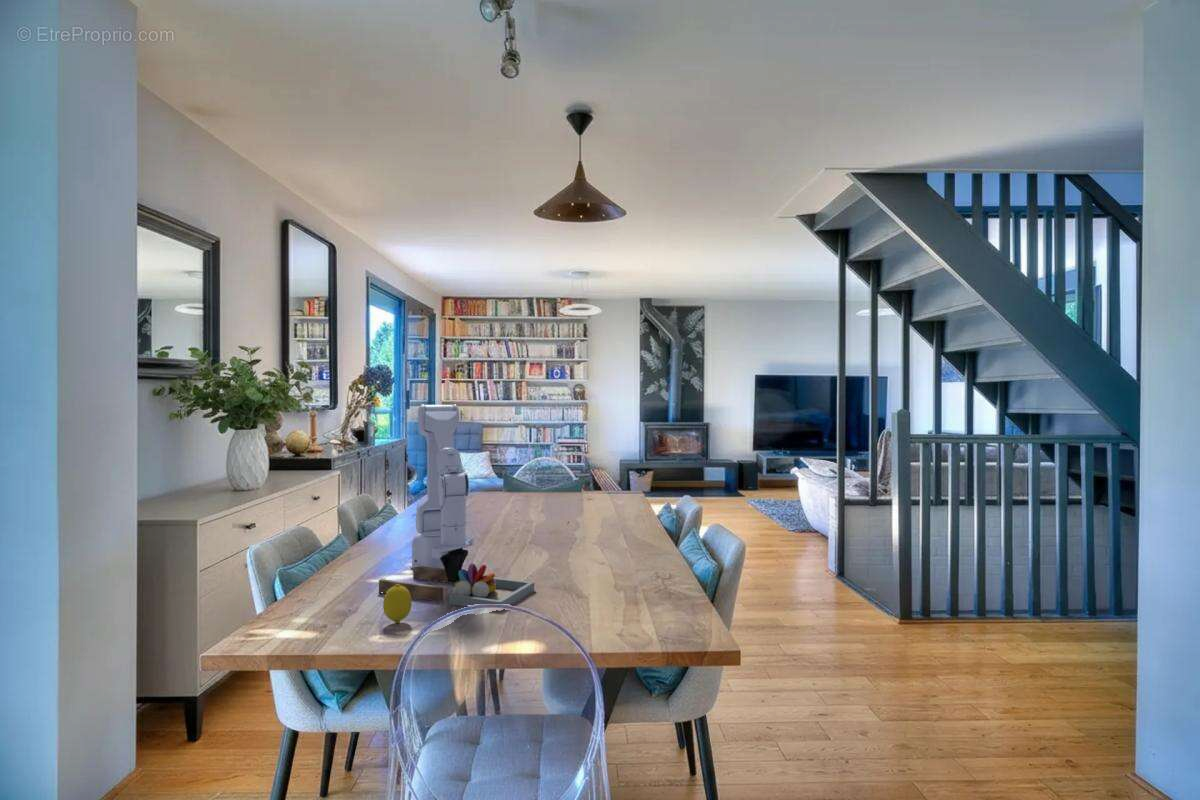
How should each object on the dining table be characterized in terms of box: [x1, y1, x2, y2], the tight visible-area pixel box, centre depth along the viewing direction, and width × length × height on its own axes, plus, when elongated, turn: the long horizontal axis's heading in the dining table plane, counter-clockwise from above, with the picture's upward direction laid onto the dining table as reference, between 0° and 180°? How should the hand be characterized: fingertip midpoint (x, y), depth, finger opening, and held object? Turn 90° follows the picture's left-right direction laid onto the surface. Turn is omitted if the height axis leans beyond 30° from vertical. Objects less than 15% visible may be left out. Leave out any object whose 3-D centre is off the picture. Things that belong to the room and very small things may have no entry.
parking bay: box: [448, 577, 535, 607], centre depth 152 cm, size 13×16×2 cm
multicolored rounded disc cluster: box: [454, 562, 497, 599], centre depth 154 cm, size 8×10×7 cm
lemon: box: [382, 584, 413, 624], centre depth 135 cm, size 6×6×8 cm
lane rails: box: [378, 566, 461, 602], centre depth 158 cm, size 17×14×3 cm
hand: (453, 581), depth 156 cm, fingers closed, pressing on multicolored rounded disc cluster
